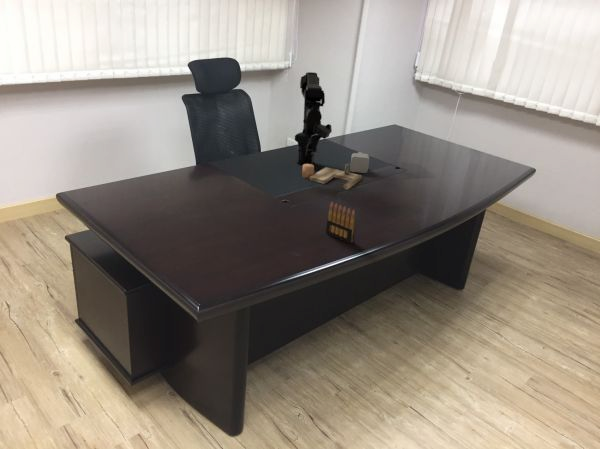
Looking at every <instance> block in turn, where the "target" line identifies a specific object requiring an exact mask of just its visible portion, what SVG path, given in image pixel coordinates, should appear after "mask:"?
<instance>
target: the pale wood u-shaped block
mask: <svg viewBox="0 0 600 449" xmlns="http://www.w3.org/2000/svg"><path fill="white" fill-rule="evenodd" d="M350 166H351V163H346V164H345V166H344V170H340V169H336V168H331V167H327V166H324V168H322V169H320V170H319V171H317V172H315V173H314V174H313V175H312V176H311V177H310V178H309V181H311V182H314V183H319V184H323V185H325V184H327V183H328V182H329V181H331V180H332V179H333V178H335V179H340V180H343V181H347V182H345V183H344V184H343V187H342V188H343V190H347V191H348V190H349V189H350V188H352V187H353V186H355V185H356V184H358V182H360V181H361V180H362V178H363V175H361V174H357V173H355V172H350Z"/></svg>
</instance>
